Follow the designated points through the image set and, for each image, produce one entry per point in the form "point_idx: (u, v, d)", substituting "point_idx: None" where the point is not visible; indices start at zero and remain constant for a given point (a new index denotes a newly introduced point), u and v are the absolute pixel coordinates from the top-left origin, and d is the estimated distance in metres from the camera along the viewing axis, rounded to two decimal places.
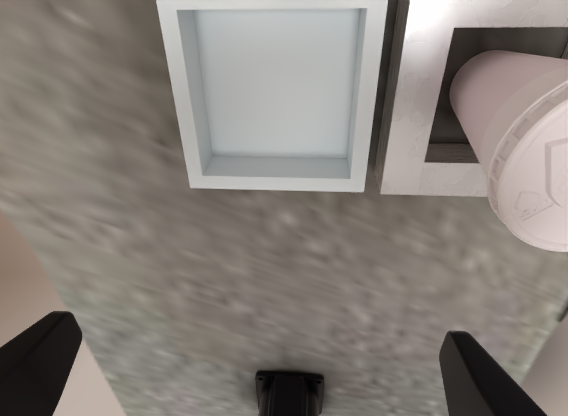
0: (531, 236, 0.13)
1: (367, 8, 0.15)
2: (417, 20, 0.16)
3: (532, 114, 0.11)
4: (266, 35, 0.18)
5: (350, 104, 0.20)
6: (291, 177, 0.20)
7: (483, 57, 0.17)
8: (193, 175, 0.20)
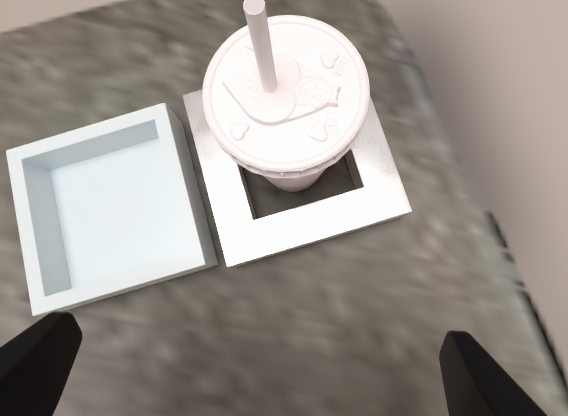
0: (266, 161, 0.13)
1: (155, 119, 0.21)
2: (196, 119, 0.21)
3: None
4: (106, 174, 0.23)
5: None
6: (131, 271, 0.20)
7: None
8: (35, 299, 0.20)
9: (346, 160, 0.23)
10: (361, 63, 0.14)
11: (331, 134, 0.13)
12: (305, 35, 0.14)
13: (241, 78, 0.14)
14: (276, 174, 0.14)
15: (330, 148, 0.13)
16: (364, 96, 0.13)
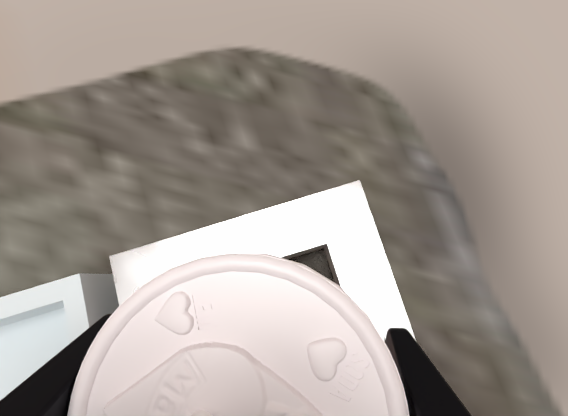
0: None
1: (64, 300, 0.14)
2: (128, 295, 0.14)
3: None
4: (5, 357, 0.16)
5: None
6: None
7: None
8: None
9: None
10: (393, 373, 0.07)
11: None
12: (277, 299, 0.07)
13: (142, 407, 0.07)
14: None
15: None
16: None
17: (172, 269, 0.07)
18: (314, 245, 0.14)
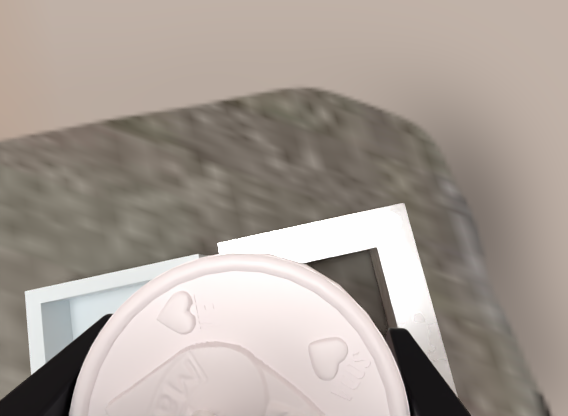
0: None
1: None
2: None
3: None
4: None
5: None
6: None
7: None
8: None
9: (387, 318, 0.21)
10: (394, 373, 0.07)
11: None
12: (279, 299, 0.07)
13: (144, 406, 0.07)
14: None
15: None
16: None
17: (174, 268, 0.07)
18: (367, 247, 0.20)
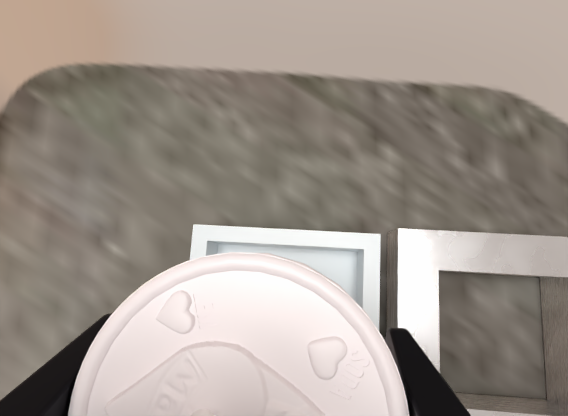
0: None
1: (364, 249, 0.18)
2: (406, 262, 0.19)
3: None
4: None
5: None
6: None
7: None
8: None
9: (545, 353, 0.20)
10: (393, 372, 0.07)
11: None
12: (279, 299, 0.07)
13: (144, 405, 0.07)
14: None
15: None
16: None
17: (173, 268, 0.07)
18: (561, 275, 0.18)
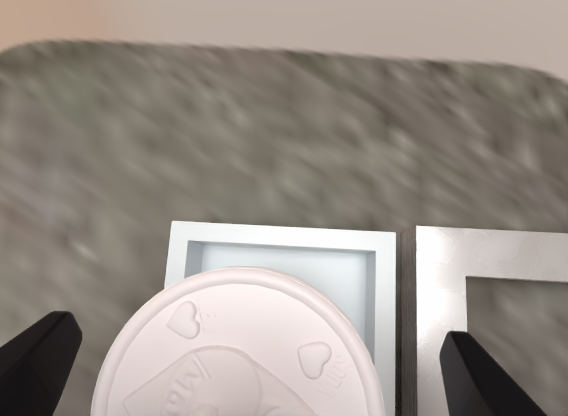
0: None
1: (376, 251, 0.15)
2: (427, 266, 0.15)
3: None
4: None
5: None
6: None
7: None
8: None
9: None
10: (371, 372, 0.08)
11: None
12: (272, 308, 0.08)
13: (156, 400, 0.08)
14: None
15: None
16: None
17: (181, 281, 0.08)
18: None
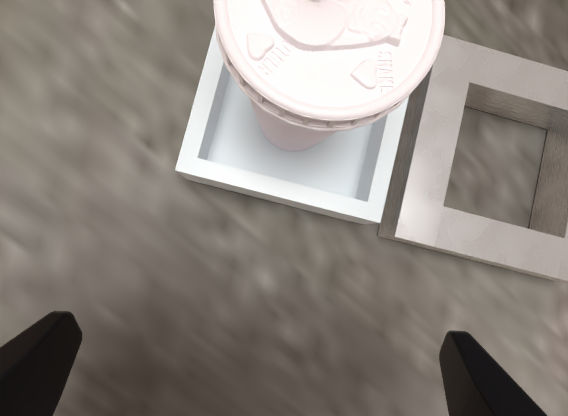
0: (289, 98, 0.09)
1: None
2: (440, 68, 0.18)
3: None
4: None
5: (365, 147, 0.20)
6: (301, 185, 0.17)
7: None
8: (186, 155, 0.16)
9: (536, 197, 0.21)
10: None
11: (382, 81, 0.10)
12: None
13: None
14: (295, 120, 0.10)
15: (378, 100, 0.10)
16: (436, 40, 0.10)
17: None
18: None
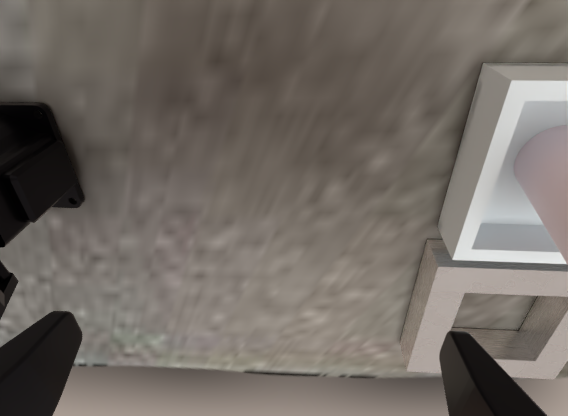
0: None
1: None
2: None
3: None
4: None
5: (514, 223, 0.21)
6: (489, 199, 0.18)
7: None
8: (529, 88, 0.15)
9: (463, 329, 0.27)
10: None
11: None
12: None
13: None
14: None
15: None
16: None
17: None
18: (539, 357, 0.25)
